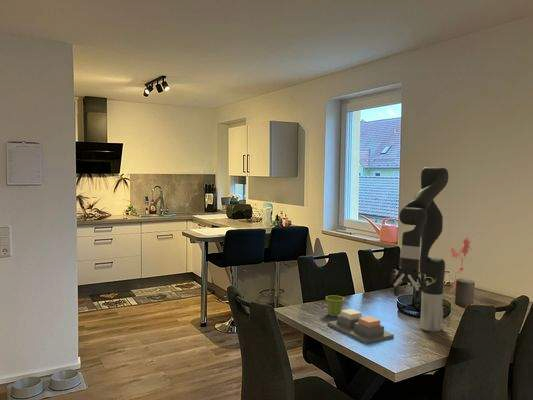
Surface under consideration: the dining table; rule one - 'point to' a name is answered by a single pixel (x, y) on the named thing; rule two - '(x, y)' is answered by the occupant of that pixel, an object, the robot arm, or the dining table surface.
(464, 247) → the pink flower sprig
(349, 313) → the cream key
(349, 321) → the key panel
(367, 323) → the terracotta key
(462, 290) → the pillar candle
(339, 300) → the plant pot
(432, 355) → the dining table surface
